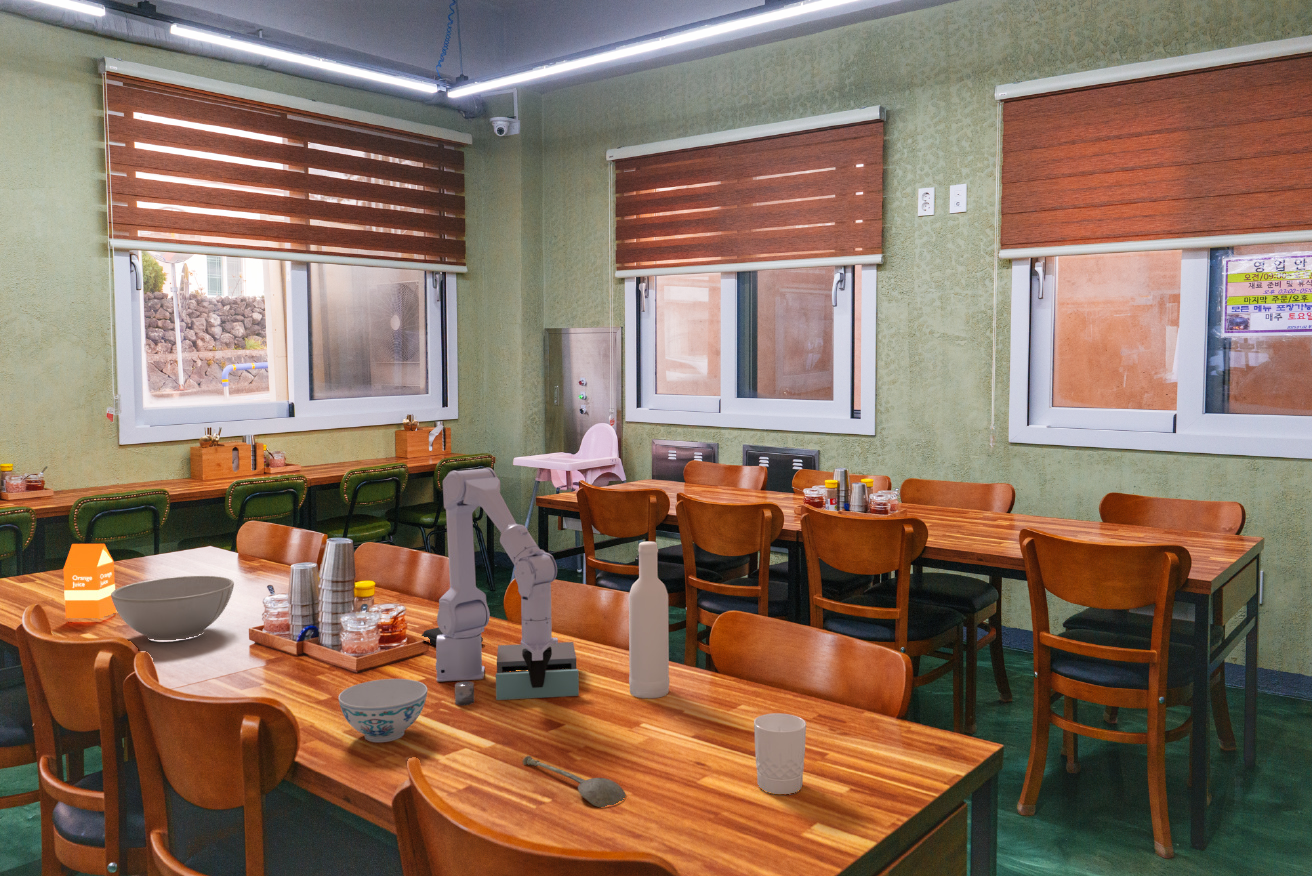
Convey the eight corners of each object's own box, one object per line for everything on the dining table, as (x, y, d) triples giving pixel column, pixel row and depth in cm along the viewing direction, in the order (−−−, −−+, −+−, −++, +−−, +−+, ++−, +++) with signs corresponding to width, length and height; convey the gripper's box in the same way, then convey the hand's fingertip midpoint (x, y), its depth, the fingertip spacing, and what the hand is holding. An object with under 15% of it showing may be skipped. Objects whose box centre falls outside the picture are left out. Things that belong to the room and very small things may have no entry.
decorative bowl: (258, 630, 238) (256, 583, 237) (152, 658, 215) (150, 605, 214) (195, 617, 252) (193, 571, 251) (90, 641, 229) (88, 591, 229)
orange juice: (99, 623, 246) (95, 546, 245) (65, 623, 246) (61, 546, 245) (116, 615, 254) (113, 541, 253) (83, 615, 254) (80, 541, 253)
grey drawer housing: (497, 688, 192) (496, 662, 192) (498, 670, 204) (498, 645, 204) (576, 684, 194) (576, 658, 194) (573, 667, 206) (573, 642, 206)
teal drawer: (496, 700, 185) (495, 674, 185) (497, 680, 196) (497, 657, 196) (578, 695, 187) (578, 670, 187) (575, 676, 199) (575, 653, 198)
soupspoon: (601, 820, 137) (634, 807, 142) (602, 797, 137) (635, 785, 142) (510, 770, 153) (543, 760, 158) (511, 750, 153) (544, 740, 157)
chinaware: (444, 725, 172) (443, 683, 172) (396, 756, 158) (395, 711, 158) (374, 716, 177) (373, 675, 177) (321, 746, 163) (319, 701, 163)
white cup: (749, 776, 149) (749, 714, 149) (799, 774, 150) (799, 712, 149) (759, 798, 142) (759, 732, 141) (811, 796, 142) (811, 730, 142)
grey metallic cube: (454, 706, 182) (454, 688, 182) (456, 699, 186) (455, 682, 186) (473, 704, 183) (473, 687, 183) (474, 698, 186) (474, 681, 186)
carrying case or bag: (414, 643, 227) (446, 656, 216) (413, 630, 227) (446, 642, 216) (453, 634, 234) (486, 646, 224) (452, 622, 234) (486, 633, 223)
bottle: (677, 691, 189) (676, 542, 187) (650, 702, 184) (649, 548, 182) (648, 683, 195) (647, 537, 193) (620, 692, 189) (619, 543, 187)
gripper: (558, 626, 177) (559, 697, 178) (556, 607, 191) (556, 673, 192) (520, 627, 176) (521, 699, 177) (520, 608, 190) (521, 675, 191)
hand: (537, 686), depth 184 cm, fingers closed
